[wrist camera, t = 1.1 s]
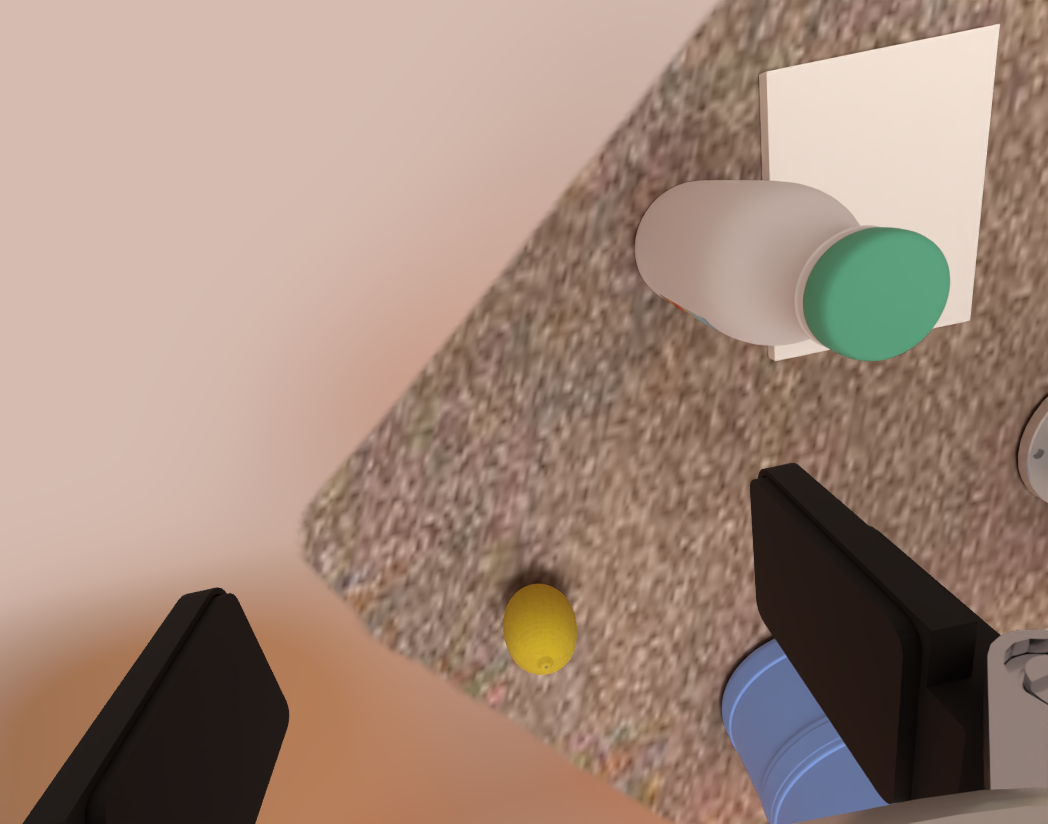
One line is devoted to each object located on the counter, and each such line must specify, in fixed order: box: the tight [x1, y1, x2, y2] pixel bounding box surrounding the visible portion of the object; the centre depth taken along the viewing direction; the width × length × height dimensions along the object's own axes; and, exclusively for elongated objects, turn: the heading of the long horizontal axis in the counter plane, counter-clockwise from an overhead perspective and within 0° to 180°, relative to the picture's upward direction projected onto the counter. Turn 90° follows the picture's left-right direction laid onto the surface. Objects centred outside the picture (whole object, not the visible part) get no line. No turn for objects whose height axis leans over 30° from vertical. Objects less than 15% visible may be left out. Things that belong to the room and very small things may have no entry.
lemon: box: [503, 584, 577, 675], centre depth 44 cm, size 6×6×8 cm
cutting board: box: [759, 24, 1000, 361], centre depth 38 cm, size 14×18×1 cm
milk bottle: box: [635, 180, 950, 361], centre depth 29 cm, size 8×8×20 cm
